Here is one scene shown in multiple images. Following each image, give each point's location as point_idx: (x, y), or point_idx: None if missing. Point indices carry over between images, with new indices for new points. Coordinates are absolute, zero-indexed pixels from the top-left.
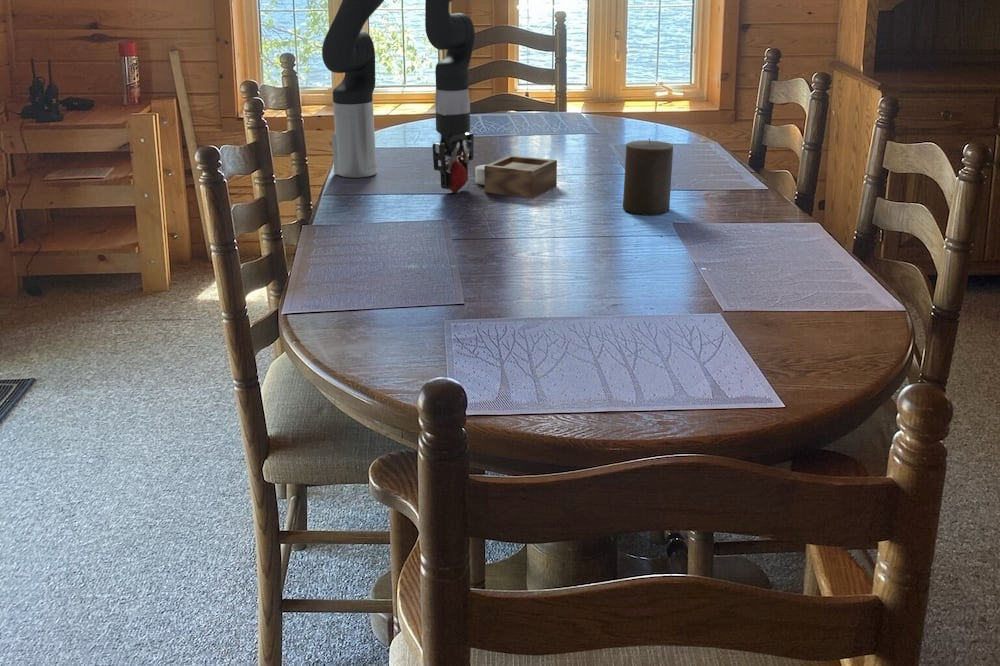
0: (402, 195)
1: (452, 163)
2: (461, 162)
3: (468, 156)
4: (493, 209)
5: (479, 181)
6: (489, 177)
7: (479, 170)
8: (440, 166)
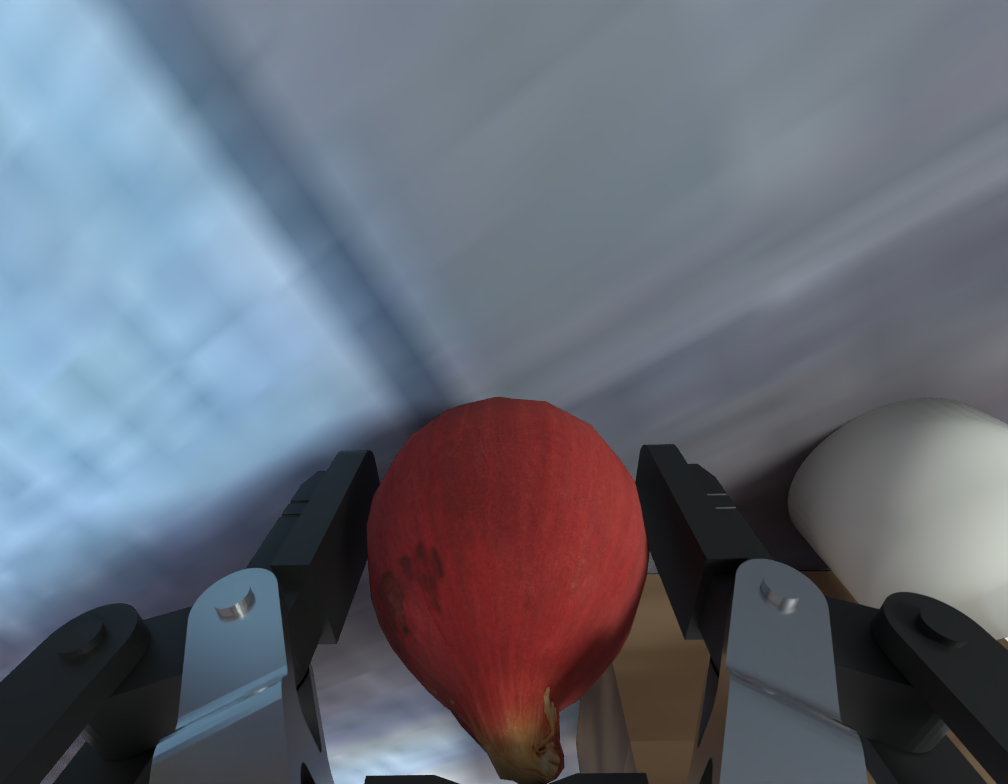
0: (129, 64)
1: (435, 696)
2: (721, 626)
3: (856, 730)
4: (325, 706)
5: (815, 478)
6: (611, 702)
7: (885, 549)
8: (86, 734)
